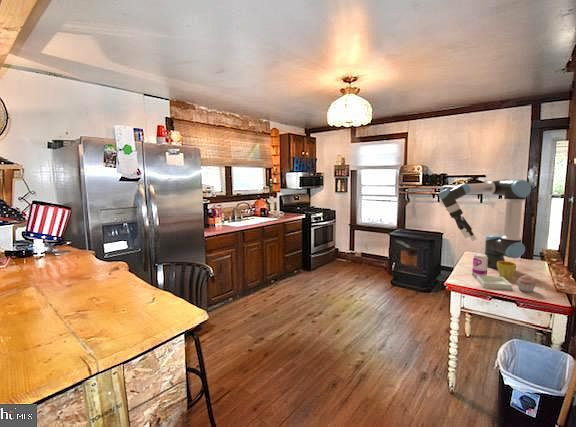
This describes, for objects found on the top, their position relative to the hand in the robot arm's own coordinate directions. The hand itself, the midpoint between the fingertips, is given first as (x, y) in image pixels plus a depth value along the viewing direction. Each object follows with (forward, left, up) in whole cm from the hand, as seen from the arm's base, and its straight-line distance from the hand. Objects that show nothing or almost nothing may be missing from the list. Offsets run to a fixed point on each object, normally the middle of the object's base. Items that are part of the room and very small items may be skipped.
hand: (470, 238), depth 195 cm
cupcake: (+18, +25, -27) cm, 41 cm away
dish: (+12, +11, -26) cm, 31 cm away
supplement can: (-2, +7, -27) cm, 27 cm away
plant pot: (-5, +23, -27) cm, 35 cm away
